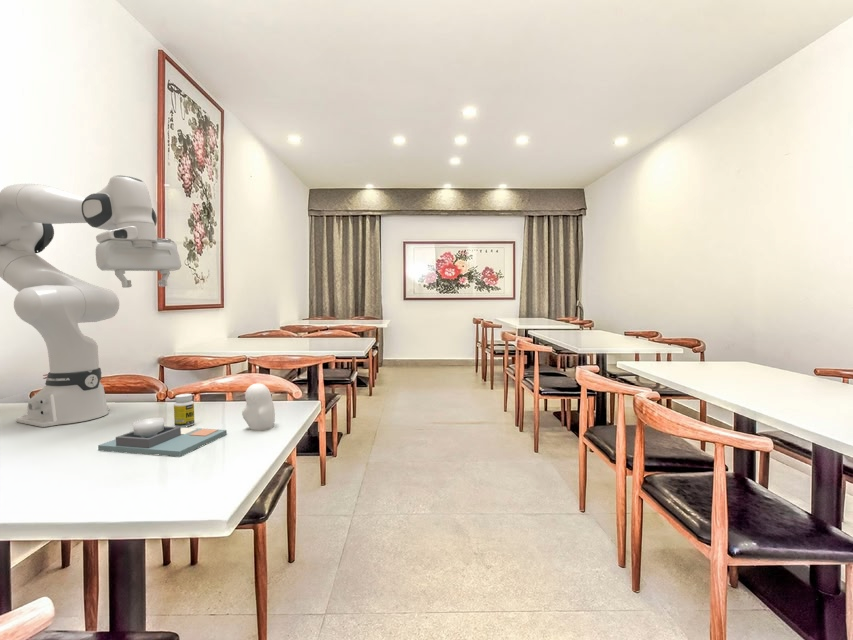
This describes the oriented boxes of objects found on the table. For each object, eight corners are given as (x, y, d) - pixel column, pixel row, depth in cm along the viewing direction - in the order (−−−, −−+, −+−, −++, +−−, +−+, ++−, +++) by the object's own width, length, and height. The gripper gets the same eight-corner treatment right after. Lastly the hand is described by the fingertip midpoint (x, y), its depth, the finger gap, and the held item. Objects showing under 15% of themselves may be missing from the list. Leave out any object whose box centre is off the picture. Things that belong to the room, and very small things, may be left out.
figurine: (239, 430, 108) (237, 385, 108) (259, 422, 116) (257, 379, 115) (262, 432, 106) (260, 386, 106) (281, 424, 113) (279, 380, 113)
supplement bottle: (188, 428, 111) (186, 397, 111) (170, 428, 111) (169, 397, 111) (198, 422, 116) (197, 393, 115) (181, 422, 116) (180, 393, 116)
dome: (127, 441, 96) (126, 422, 95) (149, 433, 102) (148, 415, 101) (149, 442, 94) (148, 423, 94) (170, 434, 100) (169, 416, 100)
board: (98, 450, 95) (97, 436, 95) (154, 430, 110) (153, 418, 110) (179, 456, 90) (179, 442, 90) (226, 434, 105) (226, 422, 105)
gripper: (168, 241, 124) (176, 287, 124) (88, 235, 105) (97, 289, 106) (181, 237, 121) (189, 284, 121) (101, 230, 103) (110, 286, 103)
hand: (145, 286), depth 114 cm, fingers open, 8 cm apart
